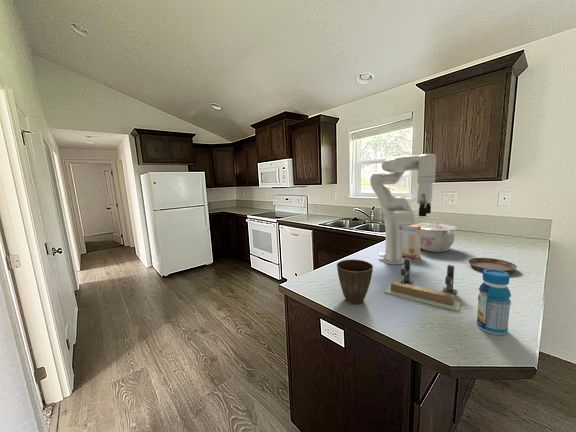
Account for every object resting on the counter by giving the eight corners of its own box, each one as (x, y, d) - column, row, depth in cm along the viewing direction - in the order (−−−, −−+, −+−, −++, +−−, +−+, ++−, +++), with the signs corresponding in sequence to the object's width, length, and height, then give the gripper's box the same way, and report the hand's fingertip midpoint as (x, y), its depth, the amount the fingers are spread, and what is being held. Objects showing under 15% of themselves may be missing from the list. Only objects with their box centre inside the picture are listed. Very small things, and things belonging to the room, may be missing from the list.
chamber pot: (415, 243, 194) (415, 217, 191) (457, 247, 178) (459, 218, 175) (408, 252, 172) (409, 222, 169) (455, 258, 155) (457, 225, 153)
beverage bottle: (498, 338, 79) (504, 279, 76) (470, 325, 86) (474, 270, 83) (513, 331, 82) (519, 274, 79) (485, 319, 90) (489, 266, 87)
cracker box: (420, 257, 160) (421, 225, 157) (416, 259, 156) (417, 226, 153) (399, 252, 171) (400, 223, 168) (394, 254, 167) (395, 224, 164)
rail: (390, 290, 113) (390, 283, 113) (393, 288, 116) (393, 281, 116) (452, 306, 98) (453, 297, 98) (453, 302, 101) (454, 294, 100)
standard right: (440, 295, 108) (441, 269, 106) (443, 288, 115) (445, 263, 113) (454, 298, 105) (455, 271, 103) (456, 291, 112) (458, 265, 110)
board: (384, 292, 113) (384, 291, 113) (389, 287, 119) (389, 286, 118) (458, 311, 95) (458, 309, 95) (460, 303, 101) (460, 302, 101)
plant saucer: (472, 273, 131) (472, 267, 131) (464, 261, 150) (464, 256, 149) (523, 278, 122) (524, 271, 122) (508, 264, 141) (508, 259, 140)
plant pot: (378, 298, 108) (378, 263, 106) (363, 313, 97) (363, 274, 95) (347, 289, 118) (347, 257, 116) (330, 301, 107) (330, 266, 105)
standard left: (397, 285, 120) (397, 262, 118) (402, 279, 126) (403, 257, 125) (408, 288, 116) (409, 264, 115) (413, 281, 123) (414, 258, 121)
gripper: (421, 179, 129) (420, 212, 132) (413, 180, 116) (411, 216, 119) (438, 179, 124) (436, 212, 127) (431, 180, 111) (429, 217, 114)
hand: (424, 214), depth 123 cm, fingers open, 9 cm apart
